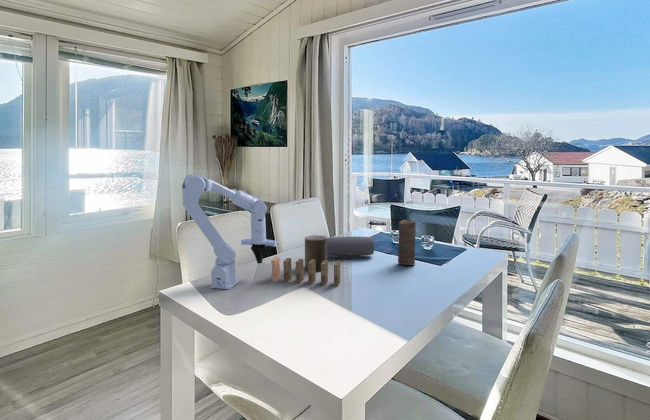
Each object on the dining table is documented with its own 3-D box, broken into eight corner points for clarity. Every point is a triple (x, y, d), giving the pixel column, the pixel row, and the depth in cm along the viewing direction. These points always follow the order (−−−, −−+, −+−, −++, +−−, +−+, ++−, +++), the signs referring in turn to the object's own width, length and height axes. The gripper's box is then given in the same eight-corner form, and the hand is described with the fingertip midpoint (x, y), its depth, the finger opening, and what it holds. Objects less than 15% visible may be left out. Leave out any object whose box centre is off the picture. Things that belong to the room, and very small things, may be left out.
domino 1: (275, 281, 148) (275, 260, 146) (272, 281, 148) (271, 260, 147) (280, 277, 152) (279, 257, 151) (276, 277, 153) (275, 257, 151)
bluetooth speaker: (371, 253, 184) (371, 234, 182) (374, 259, 175) (374, 238, 173) (324, 254, 183) (324, 234, 182) (325, 260, 174) (325, 239, 173)
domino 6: (337, 286, 142) (337, 264, 140) (333, 286, 142) (333, 264, 141) (340, 282, 146) (340, 261, 145) (336, 281, 147) (336, 261, 145)
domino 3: (300, 283, 145) (299, 262, 144) (296, 283, 146) (295, 262, 144) (303, 279, 150) (303, 258, 148) (299, 279, 150) (299, 258, 149)
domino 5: (325, 285, 143) (324, 264, 142) (321, 285, 143) (320, 263, 142) (327, 281, 147) (327, 260, 146) (324, 280, 148) (323, 260, 146)
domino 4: (312, 284, 144) (312, 263, 143) (308, 284, 145) (308, 262, 143) (315, 280, 149) (315, 259, 147) (311, 279, 149) (311, 259, 148)
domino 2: (287, 282, 147) (287, 261, 145) (284, 282, 147) (283, 261, 146) (291, 278, 151) (291, 258, 150) (287, 278, 151) (287, 257, 150)
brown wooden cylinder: (410, 268, 162) (411, 222, 158) (394, 265, 166) (395, 221, 163) (417, 263, 168) (419, 220, 164) (402, 261, 172) (403, 218, 169)
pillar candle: (324, 272, 158) (324, 237, 156) (302, 270, 160) (301, 236, 157) (329, 265, 167) (329, 232, 165) (307, 264, 169) (307, 231, 167)
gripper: (279, 228, 151) (280, 260, 153) (246, 226, 154) (247, 258, 156) (272, 232, 144) (273, 266, 146) (238, 230, 147) (239, 263, 150)
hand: (259, 262), depth 151 cm, fingers closed
